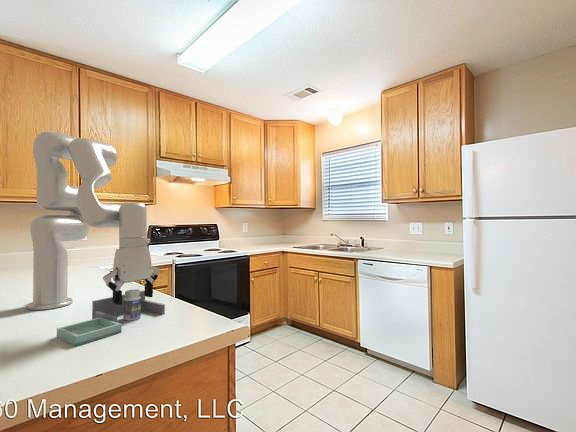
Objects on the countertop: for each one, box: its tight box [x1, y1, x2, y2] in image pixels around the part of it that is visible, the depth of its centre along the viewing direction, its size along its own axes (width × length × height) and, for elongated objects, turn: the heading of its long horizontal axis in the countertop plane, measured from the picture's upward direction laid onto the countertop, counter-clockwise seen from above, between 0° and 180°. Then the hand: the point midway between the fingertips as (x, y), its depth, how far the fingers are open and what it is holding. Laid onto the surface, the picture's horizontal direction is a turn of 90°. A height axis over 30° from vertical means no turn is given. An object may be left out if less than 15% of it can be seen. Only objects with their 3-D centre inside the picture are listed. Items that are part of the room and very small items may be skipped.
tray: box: [56, 317, 123, 347], centre depth 79 cm, size 11×11×2 cm
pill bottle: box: [122, 288, 142, 321], centre depth 92 cm, size 5×5×8 cm
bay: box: [91, 290, 166, 323], centre depth 93 cm, size 12×16×6 cm
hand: (133, 300), depth 92 cm, fingers open, 9 cm apart
